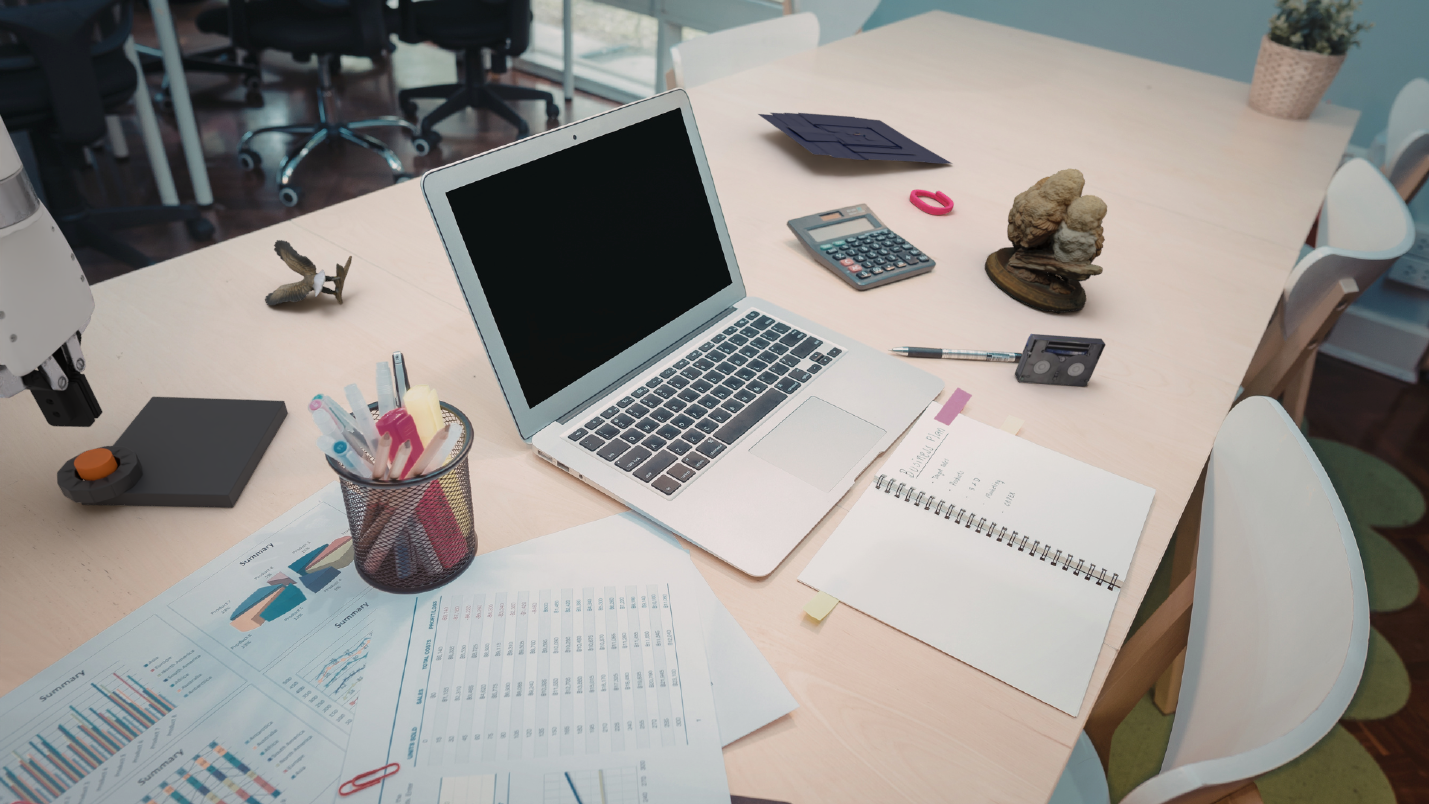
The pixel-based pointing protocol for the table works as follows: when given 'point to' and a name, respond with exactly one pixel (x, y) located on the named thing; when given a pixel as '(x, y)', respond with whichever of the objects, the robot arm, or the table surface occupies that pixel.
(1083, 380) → the mini dv tape
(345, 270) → the eagle figurine
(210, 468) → the scale
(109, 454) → the button
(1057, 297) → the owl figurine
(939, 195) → the fitness band
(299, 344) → the table surface
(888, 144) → the navy patterned tile
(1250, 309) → the table surface
